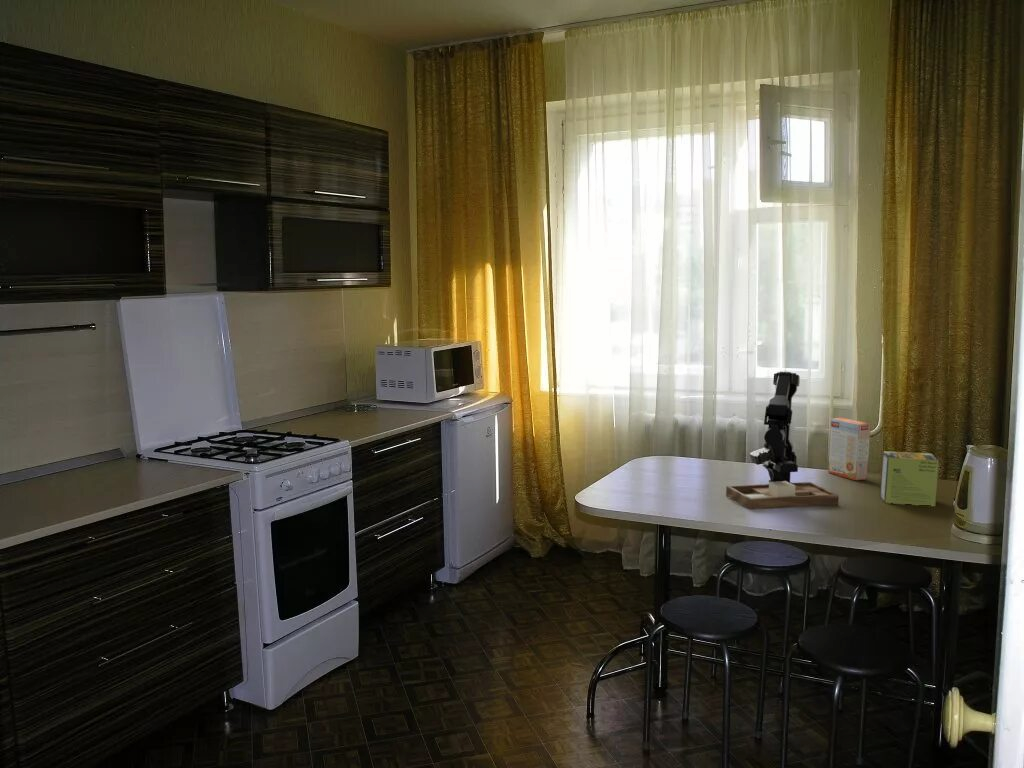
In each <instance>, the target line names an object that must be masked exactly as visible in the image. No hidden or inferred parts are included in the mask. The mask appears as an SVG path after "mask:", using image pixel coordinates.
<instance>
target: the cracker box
mask: <svg viewBox="0 0 1024 768" xmlns="http://www.w3.org/2000/svg"><path fill="white" fill-rule="evenodd" d="M871 424H872V423H869V422H864V421H859V420H854V419H849V418H846V417H834V418H831V424H830V438H829V439H830V440H829V453H828V454H829V455H828V456H829V457H828V471H827V472H828V473H829V474H832V475H836V476H837V477H838V476H839V477H841V478H846V479H849V480H852V481H864V480H865V481H866V480H868V472H869V471H868V466H869V453H870V442H871V441H870V439H871V436H870V435H871Z"/></svg>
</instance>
